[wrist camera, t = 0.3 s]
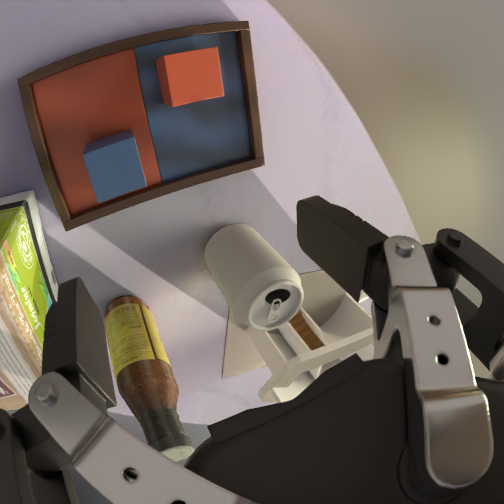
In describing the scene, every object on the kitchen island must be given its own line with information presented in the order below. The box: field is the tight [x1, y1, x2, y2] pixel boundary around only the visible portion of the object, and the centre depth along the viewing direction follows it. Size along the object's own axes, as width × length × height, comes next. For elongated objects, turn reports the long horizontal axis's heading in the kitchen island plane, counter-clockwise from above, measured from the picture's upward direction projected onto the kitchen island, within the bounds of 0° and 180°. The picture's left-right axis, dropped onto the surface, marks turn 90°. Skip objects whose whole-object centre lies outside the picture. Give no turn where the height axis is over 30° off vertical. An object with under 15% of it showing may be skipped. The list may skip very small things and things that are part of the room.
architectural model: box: [222, 270, 374, 403], centre depth 44 cm, size 28×21×23 cm
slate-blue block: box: [83, 130, 147, 203], centre depth 24 cm, size 4×4×4 cm
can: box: [204, 224, 304, 331], centre depth 33 cm, size 8×8×12 cm
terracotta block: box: [156, 47, 224, 107], centre depth 23 cm, size 4×4×4 cm
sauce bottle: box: [105, 296, 194, 462], centre depth 28 cm, size 7×6×20 cm
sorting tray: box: [18, 21, 265, 231], centre depth 25 cm, size 16×22×2 cm
